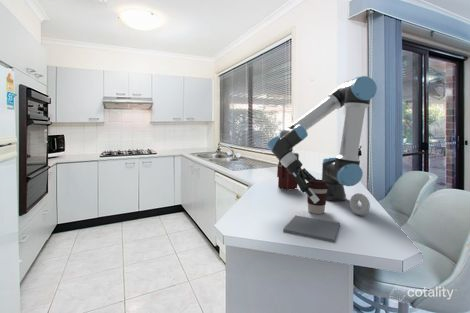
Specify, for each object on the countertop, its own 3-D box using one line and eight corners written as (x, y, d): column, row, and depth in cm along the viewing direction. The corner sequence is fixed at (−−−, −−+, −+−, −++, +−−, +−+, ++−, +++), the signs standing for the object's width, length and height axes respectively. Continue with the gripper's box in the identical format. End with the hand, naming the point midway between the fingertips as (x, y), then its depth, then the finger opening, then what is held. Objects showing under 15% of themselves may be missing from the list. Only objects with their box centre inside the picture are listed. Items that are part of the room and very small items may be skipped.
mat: (295, 217, 111) (295, 215, 111) (339, 225, 103) (339, 223, 103) (283, 231, 95) (283, 229, 95) (334, 242, 87) (334, 239, 87)
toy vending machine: (275, 187, 168) (276, 145, 165) (287, 186, 174) (289, 145, 171) (284, 190, 160) (286, 146, 157) (297, 188, 166) (299, 146, 163)
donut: (370, 218, 112) (372, 196, 111) (365, 219, 111) (366, 196, 110) (353, 211, 121) (354, 190, 120) (347, 212, 120) (348, 191, 119)
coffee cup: (319, 216, 112) (321, 183, 111) (300, 211, 120) (302, 179, 118) (331, 212, 119) (333, 181, 117) (312, 207, 126) (314, 177, 125)
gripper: (294, 165, 136) (322, 197, 130) (275, 171, 115) (307, 209, 109) (305, 156, 133) (333, 188, 126) (287, 160, 112) (320, 199, 105)
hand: (321, 198), depth 118 cm, fingers open, 13 cm apart
